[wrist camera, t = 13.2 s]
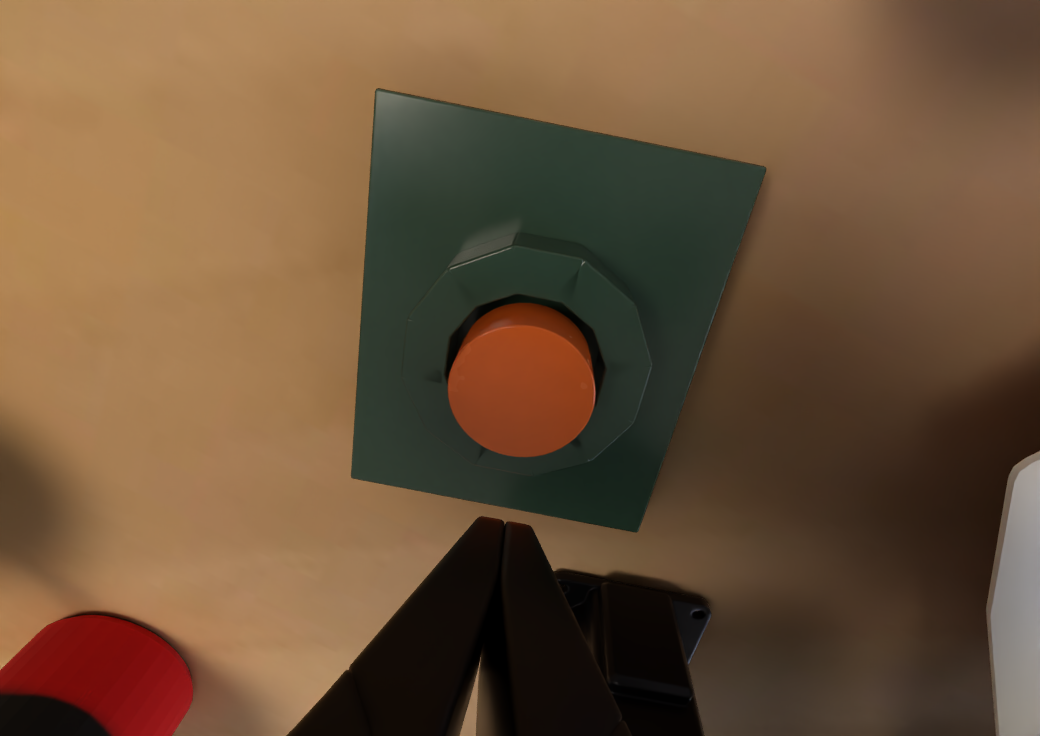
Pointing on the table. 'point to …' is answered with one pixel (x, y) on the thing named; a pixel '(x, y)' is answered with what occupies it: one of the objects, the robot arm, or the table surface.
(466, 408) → the button
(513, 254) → the button box
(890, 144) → the table surface
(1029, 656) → the bowl
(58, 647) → the soda can
